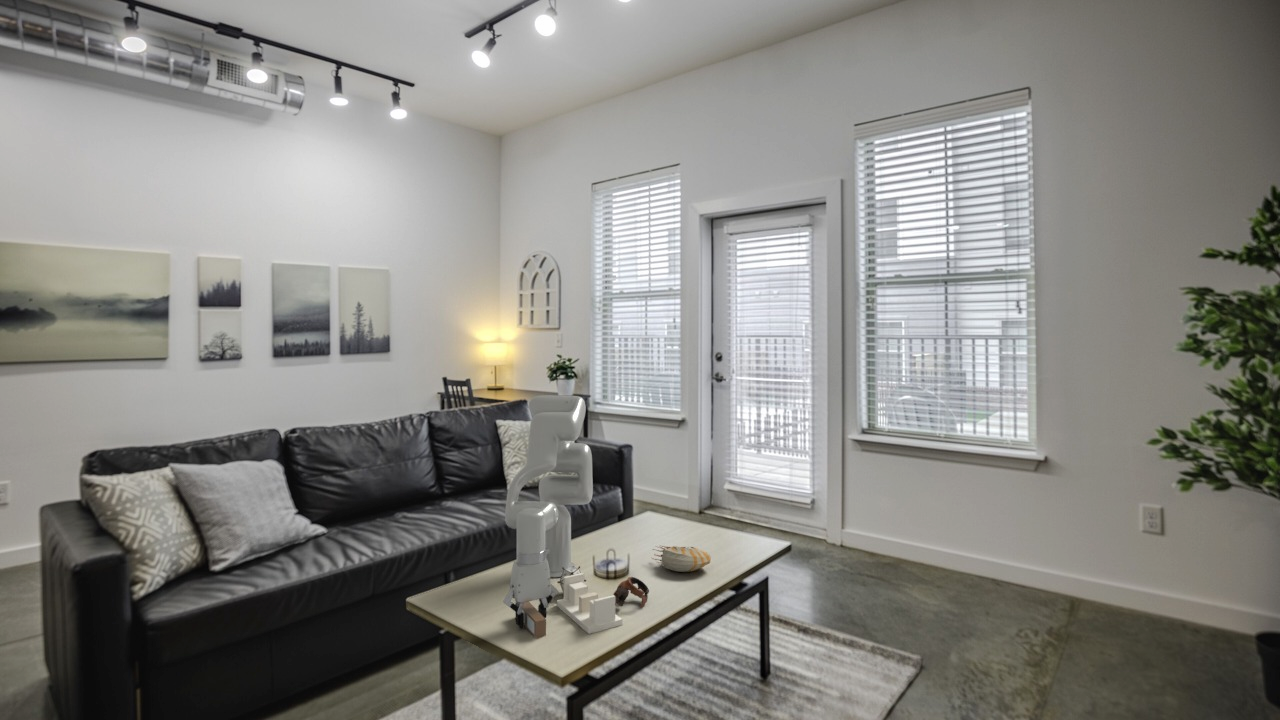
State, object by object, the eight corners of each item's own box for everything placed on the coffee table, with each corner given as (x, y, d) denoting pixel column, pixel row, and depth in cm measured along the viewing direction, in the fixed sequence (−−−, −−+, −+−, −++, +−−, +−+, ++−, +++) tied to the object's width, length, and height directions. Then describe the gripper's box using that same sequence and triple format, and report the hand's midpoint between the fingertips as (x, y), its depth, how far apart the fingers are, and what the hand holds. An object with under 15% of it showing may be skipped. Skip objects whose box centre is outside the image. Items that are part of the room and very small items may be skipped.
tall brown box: (516, 617, 171) (516, 601, 171) (527, 615, 173) (527, 599, 173) (535, 639, 159) (535, 621, 159) (546, 636, 161) (546, 619, 161)
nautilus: (639, 567, 210) (668, 558, 221) (690, 580, 196) (718, 570, 207) (639, 543, 210) (668, 536, 222) (690, 555, 196) (718, 546, 207)
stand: (556, 605, 179) (556, 578, 178) (588, 598, 184) (588, 571, 184) (588, 633, 162) (588, 603, 161) (622, 624, 167) (622, 595, 167)
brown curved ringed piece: (620, 595, 187) (635, 572, 187) (643, 617, 182) (657, 593, 181) (598, 599, 177) (613, 575, 176) (621, 622, 172) (637, 597, 171)
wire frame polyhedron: (564, 607, 187) (546, 577, 188) (586, 590, 192) (568, 561, 193) (574, 602, 179) (555, 572, 181) (597, 584, 184) (578, 555, 186)
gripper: (555, 546, 173) (555, 611, 174) (494, 558, 164) (495, 626, 165) (566, 554, 167) (566, 622, 167) (504, 566, 158) (504, 637, 158)
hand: (531, 623), depth 166 cm, fingers open, 5 cm apart
